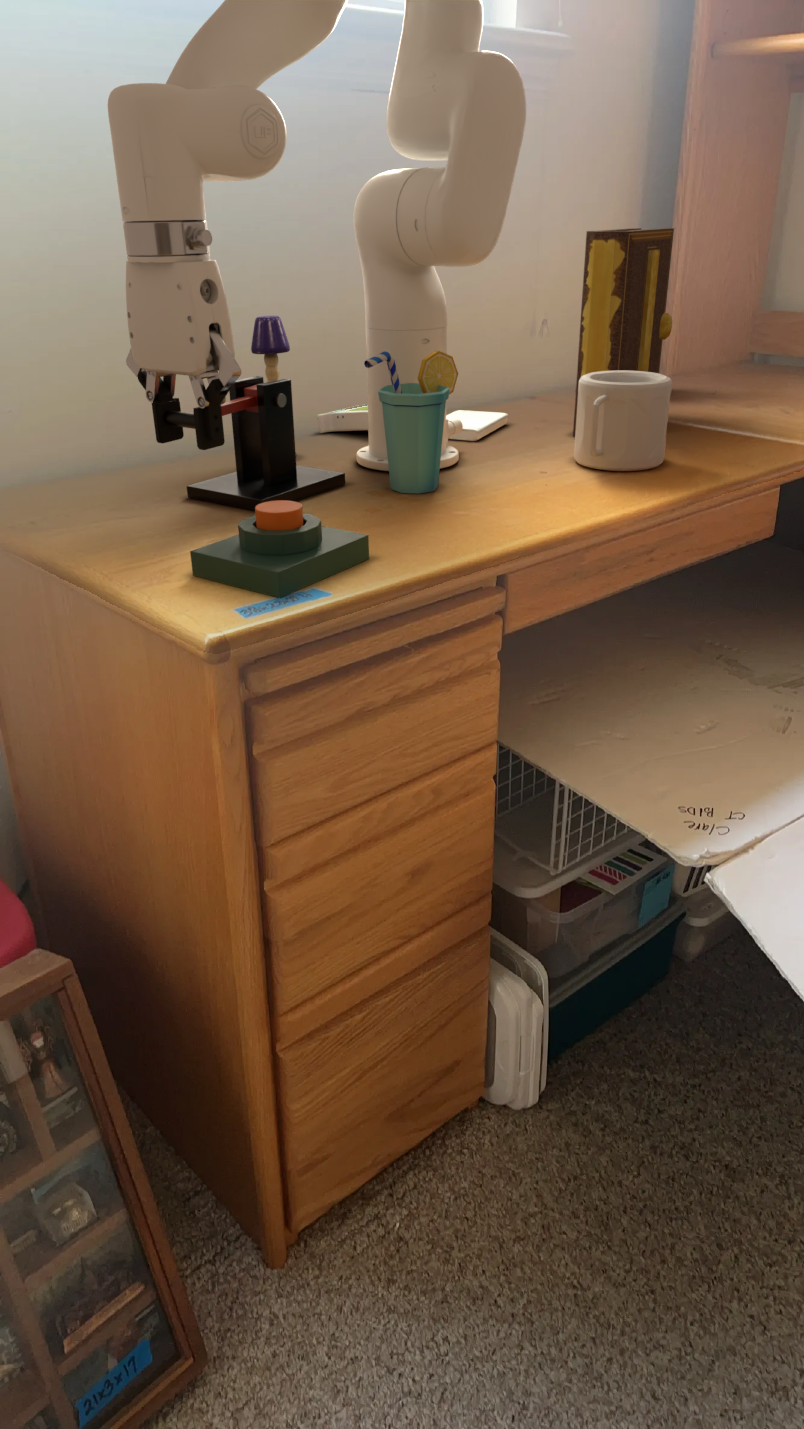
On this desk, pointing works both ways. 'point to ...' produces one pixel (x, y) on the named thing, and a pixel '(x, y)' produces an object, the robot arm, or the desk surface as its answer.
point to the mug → (622, 420)
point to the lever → (227, 408)
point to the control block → (279, 556)
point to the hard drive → (477, 423)
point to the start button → (279, 515)
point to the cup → (416, 421)
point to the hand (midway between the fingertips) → (190, 442)
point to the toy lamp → (269, 343)
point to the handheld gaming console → (344, 420)
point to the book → (624, 301)
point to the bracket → (265, 454)
